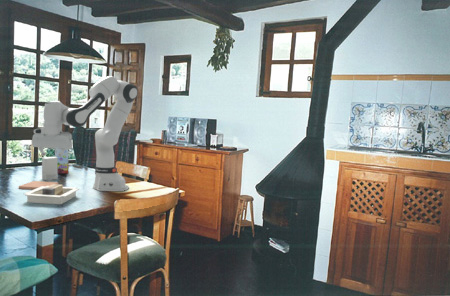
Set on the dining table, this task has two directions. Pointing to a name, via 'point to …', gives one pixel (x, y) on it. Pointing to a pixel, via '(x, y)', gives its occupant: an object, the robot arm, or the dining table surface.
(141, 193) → the dining table surface
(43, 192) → the box
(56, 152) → the snack box
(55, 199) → the white square tray
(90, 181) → the dining table surface
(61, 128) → the robot arm
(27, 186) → the terracotta tile
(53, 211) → the dining table surface
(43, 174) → the skincare box
